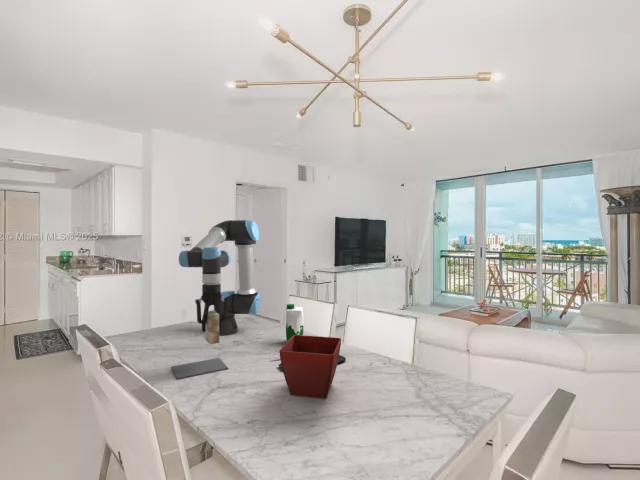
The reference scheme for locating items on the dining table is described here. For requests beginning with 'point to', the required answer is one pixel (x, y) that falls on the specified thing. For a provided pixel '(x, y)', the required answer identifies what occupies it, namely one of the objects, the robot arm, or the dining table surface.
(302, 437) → the dining table surface
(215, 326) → the oak slab
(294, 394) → the plant pot
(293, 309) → the milk carton
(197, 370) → the rubber mat
